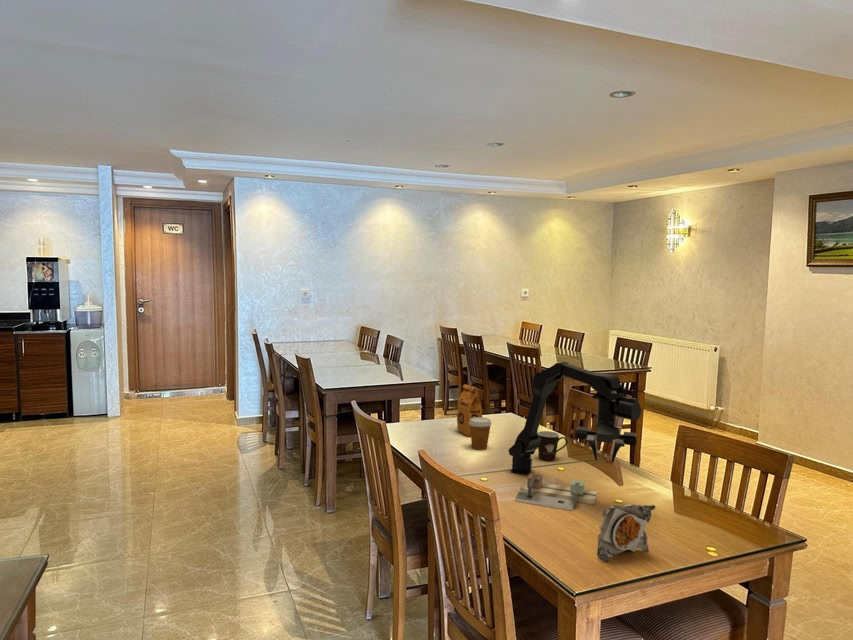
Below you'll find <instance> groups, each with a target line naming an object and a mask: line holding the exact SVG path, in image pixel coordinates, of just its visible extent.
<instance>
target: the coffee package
mask: <svg viewBox="0 0 853 640" xmlns="http://www.w3.org/2000/svg"><path fill="white" fill-rule="evenodd" d="M462 389H463V390H462V392H461V394H460V395H459V398H458V399H457V417H456V424H457V425H456V426H457V427H456V430H458V431H459V432H461V434H464V435H465V436H467V437H468V438H471V431H470V424H469V421H470V419H471V418H474V417H483V407H482V401H481V399H480V396H479V393H478V391H477V388H476V387H474V386H473V385H468V384H466V383H465V384H463V385H462Z"/></svg>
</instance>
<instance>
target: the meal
mask: <svg viewBox="0 0 853 640" xmlns="http://www.w3.org/2000/svg"><path fill="white" fill-rule="evenodd" d="M655 509H656V505H655V504H654V505H653V504H651V505H647V504H645V505H642V504H633V503H631V504H630V503H629V504H628V503H627V504H623V505H616V504H615V505H614V504H613V505H611V506H610V507H609V508H607V509H603V511H602V512H601V514H602V518H603V519H602V520H603V521H602V524H600V526H599V527H598V528H599V530H600V533H599V534H598V537H597V541H598V542H597V550H596V552H597V553H596V556H597V557H598V558H599V560H602V562H603V561H604V562H605V563H606V564H608V561H609V558H614V557H615V556H616V554H619V553H620V554H621V553H623V552H626V551H631V552H636V551H637V549H638V550H640V551H646V552H650V548H649V545H648V534H647V532H646V530H645V528H646V526H647V523H649V522H650V520H651V518H652V511H653V510H655Z"/></svg>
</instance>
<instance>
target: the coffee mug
mask: <svg viewBox="0 0 853 640" xmlns="http://www.w3.org/2000/svg"><path fill="white" fill-rule="evenodd" d="M537 433H538V436H539V437H541V441H540V444H539V447H538V448H537V451H538V459H539V460H540V461H544V462H554V461H555V460H556V457H557V453H558V452H559V451H561V450H562V449H564V448H565V447H566V446H567V445H568V443H569V442H568V439H567V438H566V437H564V436H561V437H560V434H559V433H558V432H555V431H549V430H542V431H537ZM561 439H562V440H563V439H564V440H565V444H564V445H563V446H562V447H560V448H558V445H559V442H560V440H561Z"/></svg>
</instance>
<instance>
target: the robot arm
mask: <svg viewBox="0 0 853 640" xmlns="http://www.w3.org/2000/svg"><path fill="white" fill-rule="evenodd" d="M563 377H566V378H570V379H572V380H575V381H577V382H580V383H583V384H586V385H588V386H589V387H591V389H593V390H594V391H595V392H596V393H594V394H593V395H592V396H591V398H592V399H595V400H597V415H596V416H597V417H596V426H595V430H590V427H587V426H579V425H578V426H577V427H576V429H575V430H574V438H575V439H578V440H585V442H586V443H588V444H589V445H590V447H591V449H592V453H593V456H594V461H595V462H597V461H598V444H597V443H607V444H612V443H613V440H615V441H614V446H613V451H612V452H613V453H612V455H611V464H614V462H615V460H616V457H617V454H618V452H619V451H620V449H621V447H625V445H627V446H635V447H636V446H637V438H638V434H637V433H636V432H631V431H623V434H621V433H620V432H621V431H620V429H621V428H620V427H616V425H617V424H616V422H617V418H621V419H626V420H629V421H634V422H636V421H638V420H639V419H640V417H641V414H642V408H641V405H640V402H639V399H638V398H636V397H630V396H629V397H628V395H627V392H626V391H625V389H624V387H623V386H622V383H621V379H620V378H619V376H617V375H615V374H611V373H610V374H609V373H600V372H594V371H592V370H587V369H585V368H582V367H579V366H576V365H575V364H570V363H568V362H566V361H562V362H561V361H560V362H556V363H554V364H553V365H552V366H550V367H548V368H546V369H544V370H542V371H538V372H535V373H534V375H533V377H532V383H531V386H532V387H531V388H532V391H533V395H532V399H531V402H530V406H529V410H528V413H527V416H526V420H525V423H524V427H523V429H521V431H520V432H519V433H518V434H517V436H516V439H515V440H514V444H513V445H511V447H510V448H509V449H508V453H509V456H512V458H511V459H512V462H511V469H510V473H515V474H521V475H530V473H531V472H532V470H533V459H532V458H531V457H532V455H534V454H535V452H536V450H538V447H539V444H540V441H541V437H539V436H538V433H537V432H539V431H538V430H539V426H540V424H541V422H542V421H541V420H542V417H543V414H544V410H545V407H546V403H547V399H548V397H549V396H550V394H552V392H553V391H554V390H555V388H556V385H557V384H558V381H560V380H561V379H563Z"/></svg>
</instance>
